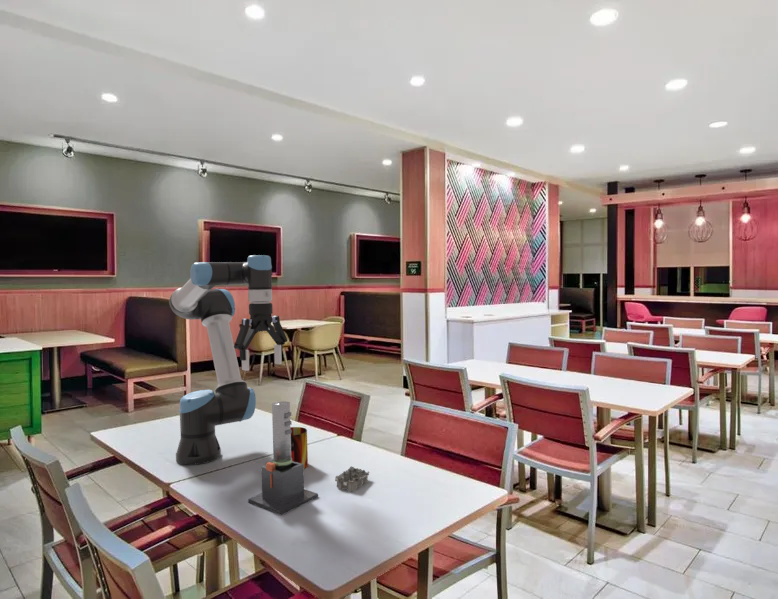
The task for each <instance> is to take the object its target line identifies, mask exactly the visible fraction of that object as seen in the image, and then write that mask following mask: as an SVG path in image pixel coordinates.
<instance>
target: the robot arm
mask: <svg viewBox="0 0 778 599" xmlns="http://www.w3.org/2000/svg"><path fill="white" fill-rule="evenodd" d="M272 269H273V266H272V258H271V256H270V255H265V254H263V255H262V254H261V255H260V254H258V255H256V254H253V255H248V257H247V260H246V261H242V262H241V261H240V262H239V261H238V262H237V261H235V262H232V261H229V262H228V261H226V262H222V261H221V262H220V261H219V262H218V261H217V262H215V261H214V262H213V261H211V262H209V261H208V262H207V261H201V262H194V263H193V264H192V265H191V267H190V272H189V273H190V274H189V276H190V278H189V279H188V280H187V281H186V283H185V284H183V286H182V287H179V288H177V289H175V290H174V291H173V292H172V294H171V295H170V297H169V308H170V309H171V310H172V312H173V313H174V314H175V315H176V316H178V317H179V318H182V319H185V320H200V321H201V325H202V326H203V327H204V328H206V329H207V330H206V331H207V336H208V340H209V345H210V350H211V356H212V360H213V366H214V369H215V375H216V381H217V386H216V387H215V389H214V390H213V389H204V390H203V389H201V390H199V389H198V390H196V391H195V390H194V391H192V392H189V393H187V394H184V395H183V396H182V397H180V400H179V409H178V412H179V426H180V429H179V430H180V440H179V442H178V447H177V450H176V453H175V461H176V462H177V463H178V464H181V465H185V466H186V465H188V466H190V465H191V466H192V465H193V466H194V465H200V464H207V463H211V462H213V461H215V460H218V459H219V458H220V457H221V456H222V448H221V445H220V443H219V440H218V438H217V434H216V427H217V426H221V425H226V424H232V423H236V422H237V423H238V422H243V421H248V420H250V419H251V418H252V417H253V416H254V414H255V411H256V404H257V400H256V399H257V397H256V396H257V395H256V393H255V390H254V388H252V387H248V384H247V381H245V380H243V379H242V376H241V372H240V371H246V372H249V371H250V350H249V349H248V347H249V345H250V344H251V343H252V341H253V339H254V337H255V336H256V334H258V333H259V332H263V331H264V332H265V331H266V332H267V334H268V335H269V336H270V337H271V339H272V340H273V341H274V342H275V344H273V352H274V354H273V355H274V364H275V365H282V364H283V363H282V361H283V360H282V357H283V356H282V354H283V352H284V351H283V346H284V345H285V343H287V342H288V338H287V335H286V334H285V331H284V329H283V326H282V324H281V320H280V316H279V315H273V303H272V301H273V290H272V289H273V284H272V283H273V281H272V279H273V278H272V275H273V274H272ZM227 285H231V286H232V285H233V286H235V285H237V286H238V285H243V286H244V285H248V287H247V288H248V293H247V294H248V295H247V296H248V302H249V303H248V314H249V318H242V319H241V324H240V325H241V326H240V327H239V328H240V329H239V331H238V335H237V336H236V339H235V342H234V338H233V335H232V331H231V326H230V324H231V321H232V320H233V316H234V315H235V313H236V303H235V299H234V297H233V295H232V294H231V292H230V291H229V290H227V289H224V288H220V289H219V288H215V286H227ZM213 288H214V289H213ZM236 350H239V359H240V361H241V370H240V367H239V362H238V358H237V353H236ZM214 391H215V392H214Z"/></svg>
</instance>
